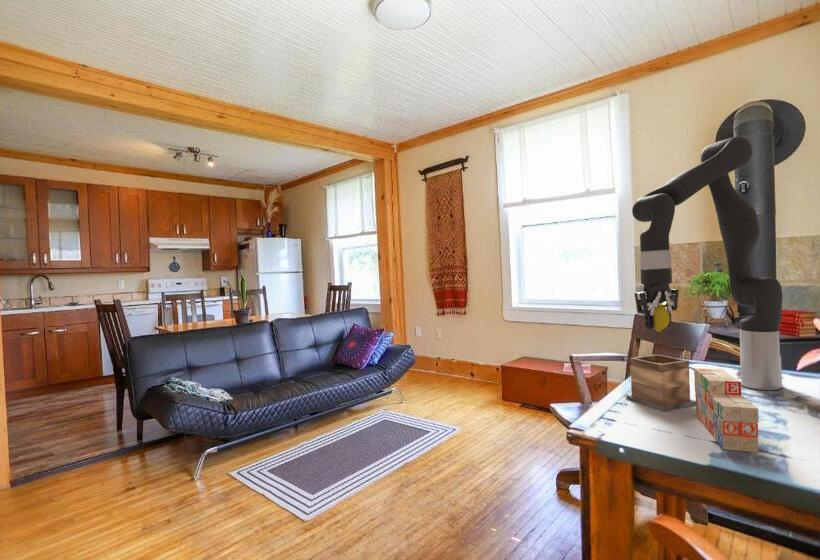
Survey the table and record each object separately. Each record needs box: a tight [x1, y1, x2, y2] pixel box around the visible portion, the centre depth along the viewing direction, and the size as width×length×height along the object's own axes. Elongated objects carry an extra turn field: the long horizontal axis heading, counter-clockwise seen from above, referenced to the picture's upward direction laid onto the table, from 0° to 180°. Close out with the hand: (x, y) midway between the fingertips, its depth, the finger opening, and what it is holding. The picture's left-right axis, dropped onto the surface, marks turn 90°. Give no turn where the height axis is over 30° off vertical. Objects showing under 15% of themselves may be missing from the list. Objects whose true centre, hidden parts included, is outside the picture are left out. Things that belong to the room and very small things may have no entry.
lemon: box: [648, 304, 670, 333], centre depth 117 cm, size 6×6×8 cm
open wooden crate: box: [625, 354, 696, 412], centre depth 118 cm, size 12×12×12 cm
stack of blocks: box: [693, 368, 759, 453], centre depth 96 cm, size 21×6×12 cm, turn 158°
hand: (658, 327), depth 117 cm, fingers closed on lemon, 5 cm apart
